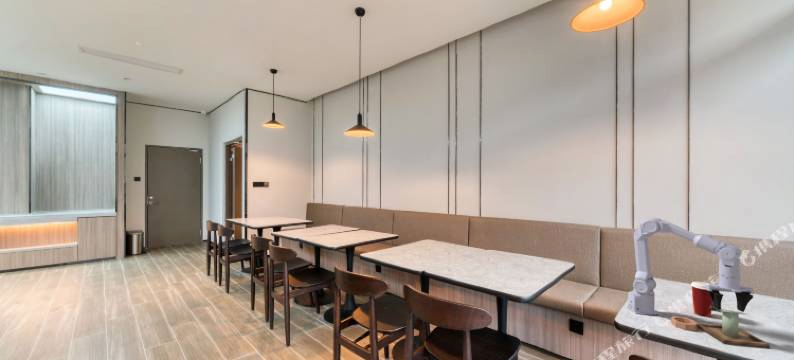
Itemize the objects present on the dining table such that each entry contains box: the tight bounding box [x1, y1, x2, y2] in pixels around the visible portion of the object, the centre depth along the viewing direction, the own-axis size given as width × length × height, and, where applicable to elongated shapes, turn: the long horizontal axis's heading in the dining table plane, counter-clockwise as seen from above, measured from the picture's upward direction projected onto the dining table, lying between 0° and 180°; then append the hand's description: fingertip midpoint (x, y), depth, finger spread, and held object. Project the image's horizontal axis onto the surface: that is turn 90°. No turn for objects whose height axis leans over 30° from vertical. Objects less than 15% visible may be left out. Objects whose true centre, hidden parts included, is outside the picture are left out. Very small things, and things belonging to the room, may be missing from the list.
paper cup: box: [690, 281, 713, 318], centre depth 140 cm, size 8×8×14 cm
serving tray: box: [696, 322, 771, 349], centre depth 120 cm, size 14×14×1 cm
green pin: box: [721, 309, 740, 338], centre depth 120 cm, size 4×4×9 cm
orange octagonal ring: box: [670, 315, 698, 332], centre depth 129 cm, size 8×8×2 cm
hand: (729, 309), depth 121 cm, fingers open, 7 cm apart
